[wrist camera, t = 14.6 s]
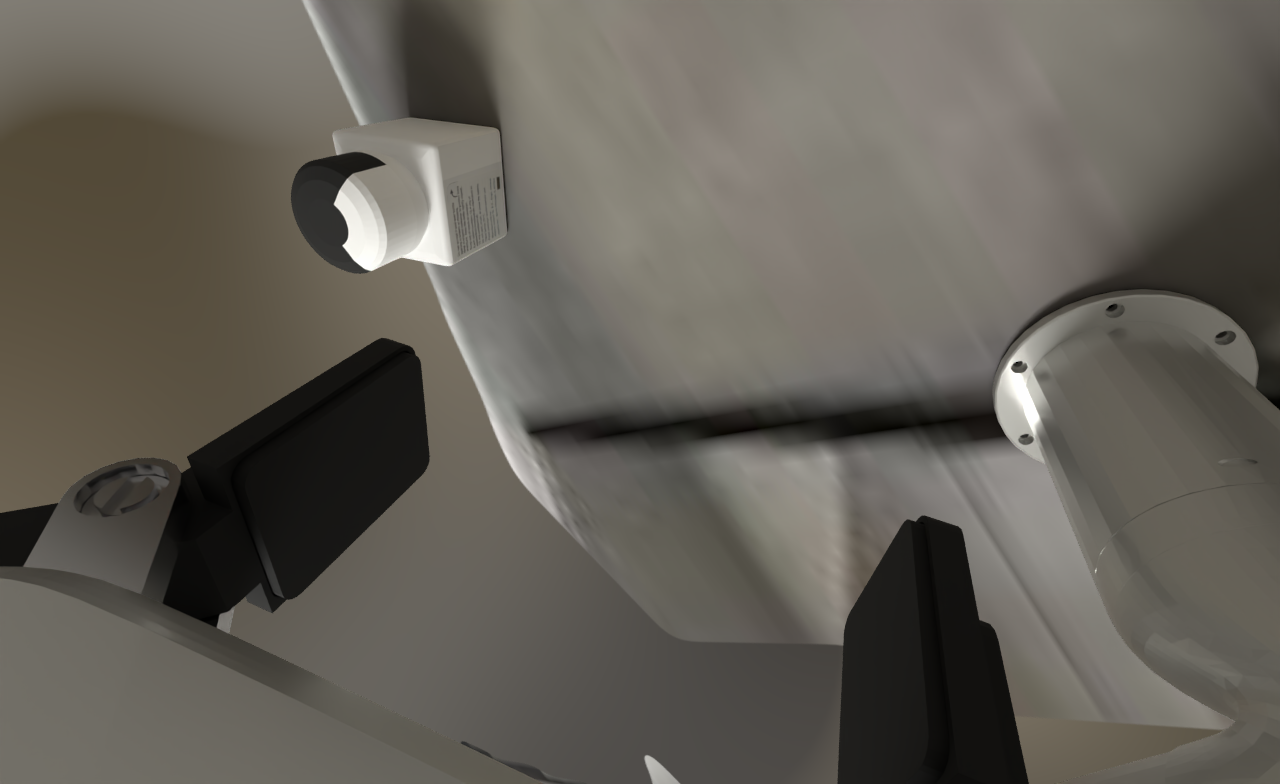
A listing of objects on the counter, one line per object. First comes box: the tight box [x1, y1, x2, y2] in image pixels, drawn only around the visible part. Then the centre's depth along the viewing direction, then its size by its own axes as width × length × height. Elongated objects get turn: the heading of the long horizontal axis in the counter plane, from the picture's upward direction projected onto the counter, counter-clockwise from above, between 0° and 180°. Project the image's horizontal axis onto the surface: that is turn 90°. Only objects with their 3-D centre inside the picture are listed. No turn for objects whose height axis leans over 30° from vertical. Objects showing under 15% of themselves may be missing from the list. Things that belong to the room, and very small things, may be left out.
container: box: [291, 117, 507, 274], centre depth 38 cm, size 8×8×13 cm
